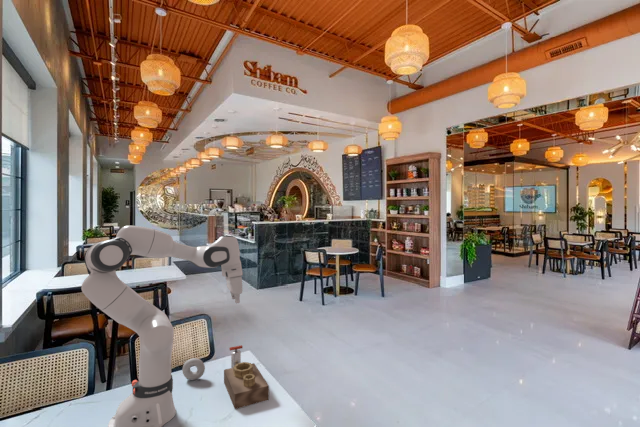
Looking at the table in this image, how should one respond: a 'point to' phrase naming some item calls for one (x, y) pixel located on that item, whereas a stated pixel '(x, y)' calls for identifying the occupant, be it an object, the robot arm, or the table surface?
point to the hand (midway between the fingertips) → (235, 300)
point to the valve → (235, 355)
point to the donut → (189, 373)
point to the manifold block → (245, 385)
